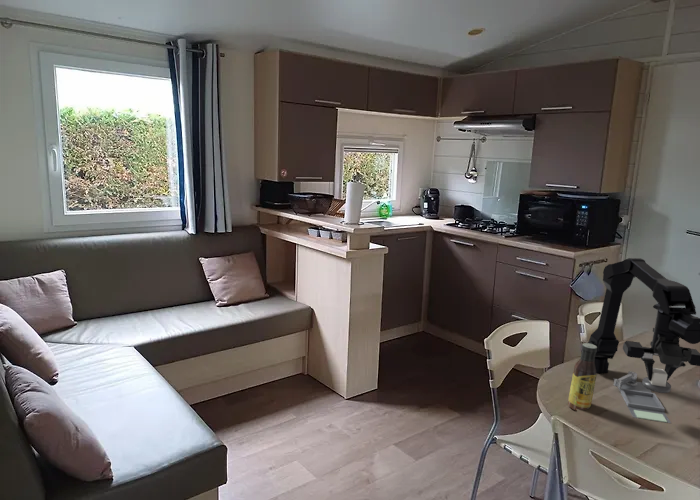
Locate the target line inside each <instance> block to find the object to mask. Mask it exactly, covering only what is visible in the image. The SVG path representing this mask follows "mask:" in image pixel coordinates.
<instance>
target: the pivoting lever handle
mask: <svg viewBox="0 0 700 500" xmlns="http://www.w3.org/2000/svg"><path fill="white" fill-rule="evenodd" d="M637 378H638V373H637V372H636V371H633V370H632V371H631V370H630V371H628V372H627V374H626V375H623V376H621V377H619V378H615V380H614V379H613V386H614V387H617V388H618V387H619V388H621V387H622V385H624V384H626V383H627V382H629V383H633V384H635V383H636V382H637Z"/></svg>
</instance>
